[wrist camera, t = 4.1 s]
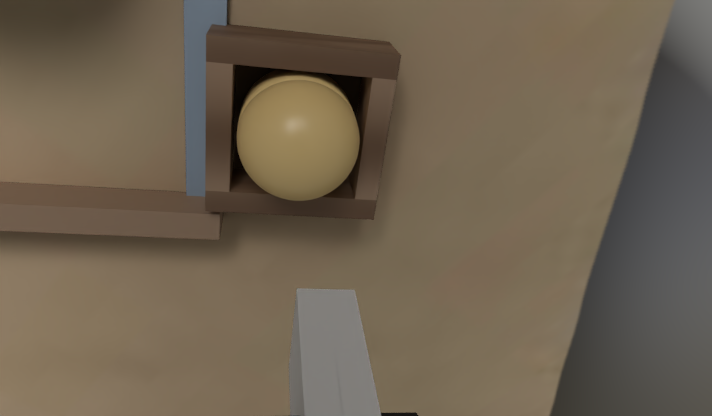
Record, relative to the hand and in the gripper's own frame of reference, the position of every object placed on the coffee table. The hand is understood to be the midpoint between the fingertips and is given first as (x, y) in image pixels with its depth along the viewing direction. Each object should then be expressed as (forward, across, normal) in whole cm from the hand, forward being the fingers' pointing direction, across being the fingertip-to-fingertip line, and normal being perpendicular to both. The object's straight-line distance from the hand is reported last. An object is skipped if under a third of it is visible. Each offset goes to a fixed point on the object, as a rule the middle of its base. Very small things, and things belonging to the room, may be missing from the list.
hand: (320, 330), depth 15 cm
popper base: (+18, 0, 0) cm, 18 cm away
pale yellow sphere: (+17, 0, 0) cm, 17 cm away
